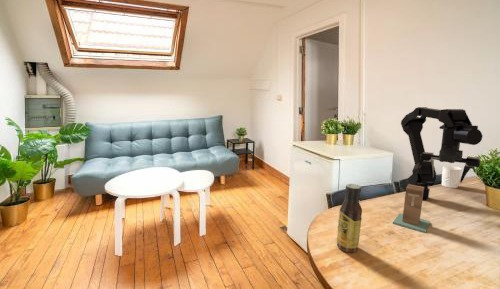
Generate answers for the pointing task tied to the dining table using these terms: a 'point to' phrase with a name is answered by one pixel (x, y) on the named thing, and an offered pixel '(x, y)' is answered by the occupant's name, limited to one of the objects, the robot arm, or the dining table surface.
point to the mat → (421, 227)
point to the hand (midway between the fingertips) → (446, 180)
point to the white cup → (451, 176)
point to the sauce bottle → (350, 220)
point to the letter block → (413, 204)
